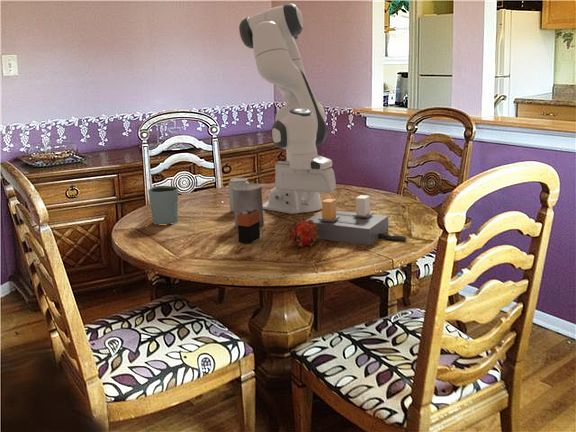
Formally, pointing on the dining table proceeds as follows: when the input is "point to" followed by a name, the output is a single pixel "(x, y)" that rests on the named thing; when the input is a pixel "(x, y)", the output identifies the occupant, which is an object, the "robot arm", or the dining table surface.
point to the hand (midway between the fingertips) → (305, 204)
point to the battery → (248, 226)
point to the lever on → (363, 207)
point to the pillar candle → (248, 199)
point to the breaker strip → (354, 228)
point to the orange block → (329, 210)
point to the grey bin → (164, 204)
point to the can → (232, 183)
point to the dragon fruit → (304, 233)
